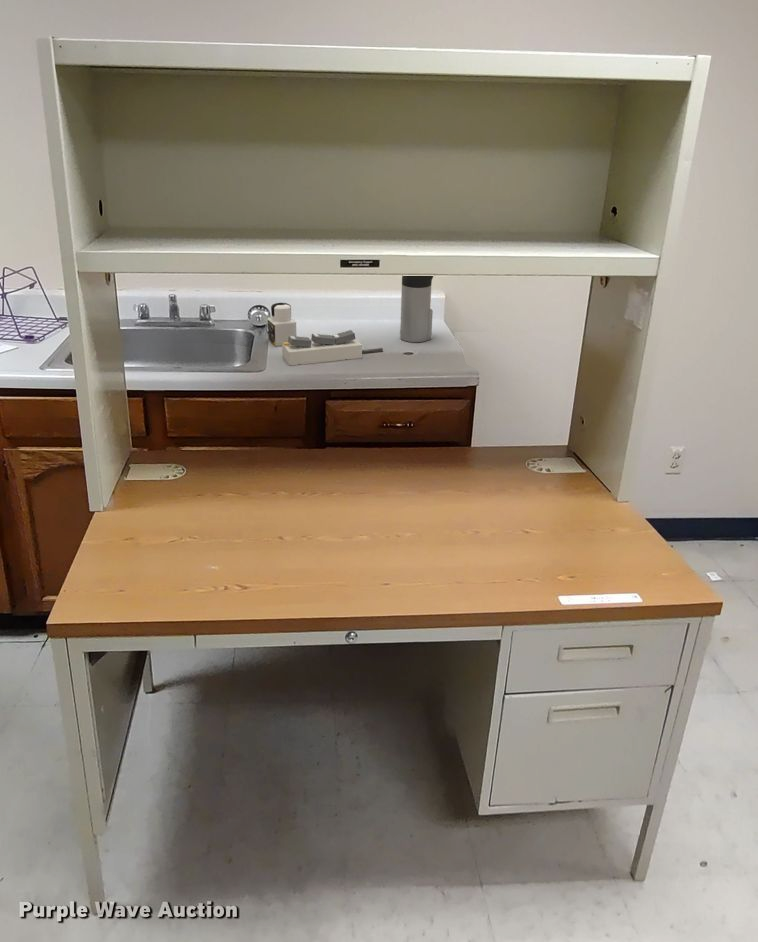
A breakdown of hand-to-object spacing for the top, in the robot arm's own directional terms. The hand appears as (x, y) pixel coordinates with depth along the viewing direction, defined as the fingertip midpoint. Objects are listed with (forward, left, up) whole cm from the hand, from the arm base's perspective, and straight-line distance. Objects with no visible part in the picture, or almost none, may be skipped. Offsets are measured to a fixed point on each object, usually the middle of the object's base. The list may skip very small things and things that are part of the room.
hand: (273, 253), depth 214 cm
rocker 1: (-4, +9, -25) cm, 27 cm away
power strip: (-15, +9, -29) cm, 34 cm away
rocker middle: (-11, +9, -25) cm, 29 cm away
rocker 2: (-18, +9, -25) cm, 32 cm away
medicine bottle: (-4, -9, -29) cm, 31 cm away
